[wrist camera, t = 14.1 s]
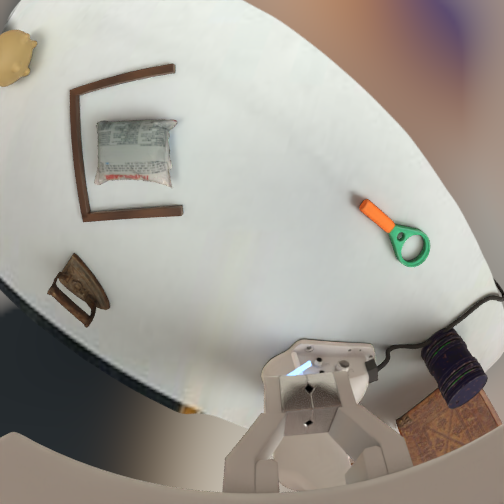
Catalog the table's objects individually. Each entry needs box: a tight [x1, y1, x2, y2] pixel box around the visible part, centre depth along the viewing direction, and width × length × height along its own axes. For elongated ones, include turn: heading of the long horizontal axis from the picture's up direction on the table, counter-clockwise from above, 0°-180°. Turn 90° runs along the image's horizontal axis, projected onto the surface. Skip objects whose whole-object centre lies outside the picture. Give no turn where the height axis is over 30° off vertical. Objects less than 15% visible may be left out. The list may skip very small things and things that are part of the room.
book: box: [396, 388, 502, 466], centre depth 44 cm, size 25×9×30 cm, turn 147°
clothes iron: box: [47, 253, 110, 328], centre depth 39 cm, size 7×11×10 cm, turn 43°
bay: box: [70, 64, 183, 222], centre depth 32 cm, size 16×20×1 cm
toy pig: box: [0, 30, 37, 87], centre depth 21 cm, size 10×12×11 cm
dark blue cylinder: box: [421, 328, 488, 409], centre depth 41 cm, size 10×10×15 cm
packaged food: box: [94, 120, 177, 188], centre depth 31 cm, size 9×12×5 cm
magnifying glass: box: [359, 199, 430, 267], centre depth 37 cm, size 15×6×2 cm, turn 57°
